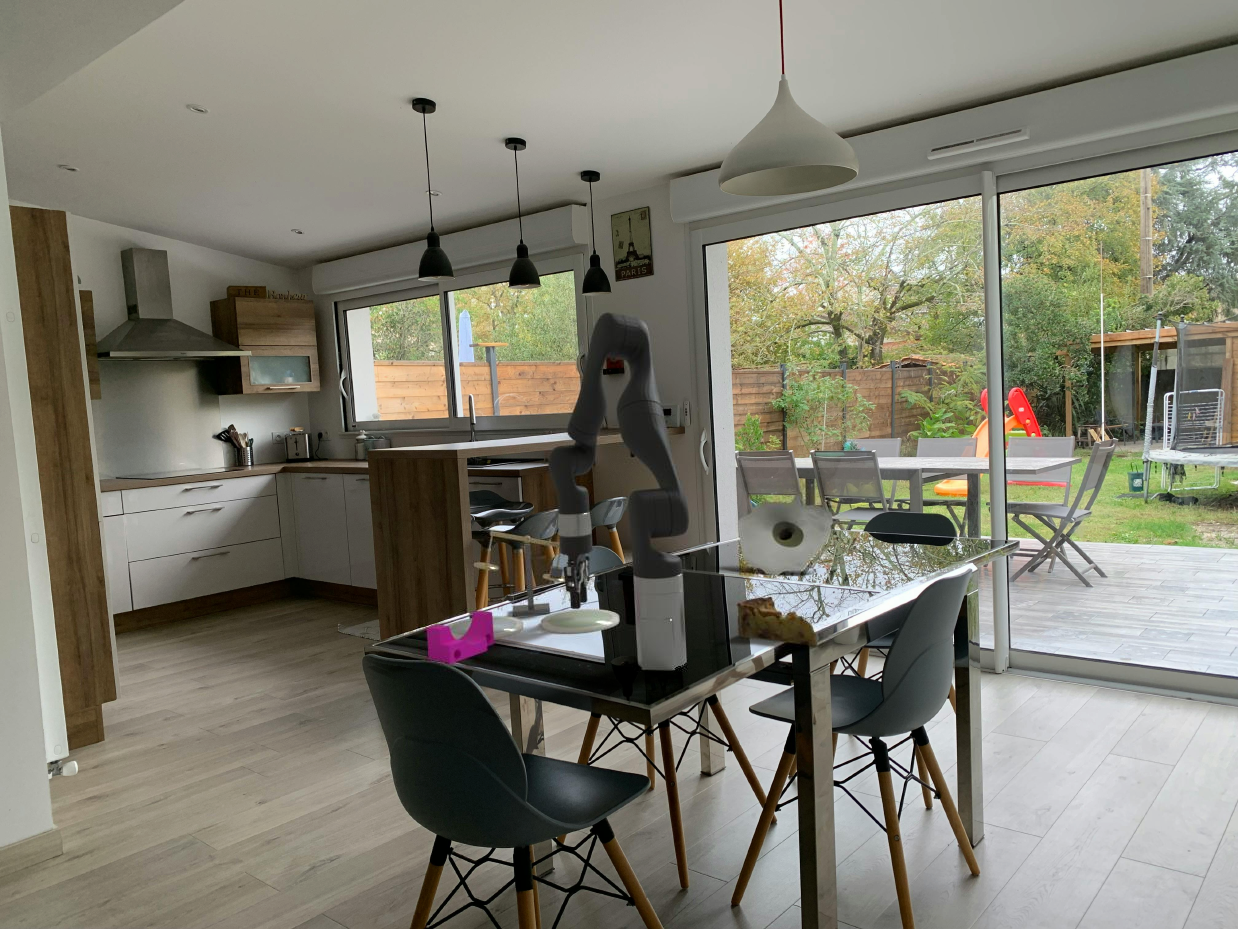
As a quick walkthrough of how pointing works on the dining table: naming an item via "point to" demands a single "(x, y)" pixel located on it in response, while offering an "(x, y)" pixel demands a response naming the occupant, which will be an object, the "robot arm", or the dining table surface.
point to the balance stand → (530, 592)
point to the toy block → (461, 639)
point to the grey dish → (500, 627)
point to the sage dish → (579, 621)
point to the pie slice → (773, 623)
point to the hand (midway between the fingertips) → (579, 605)
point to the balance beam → (555, 570)
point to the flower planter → (783, 535)
